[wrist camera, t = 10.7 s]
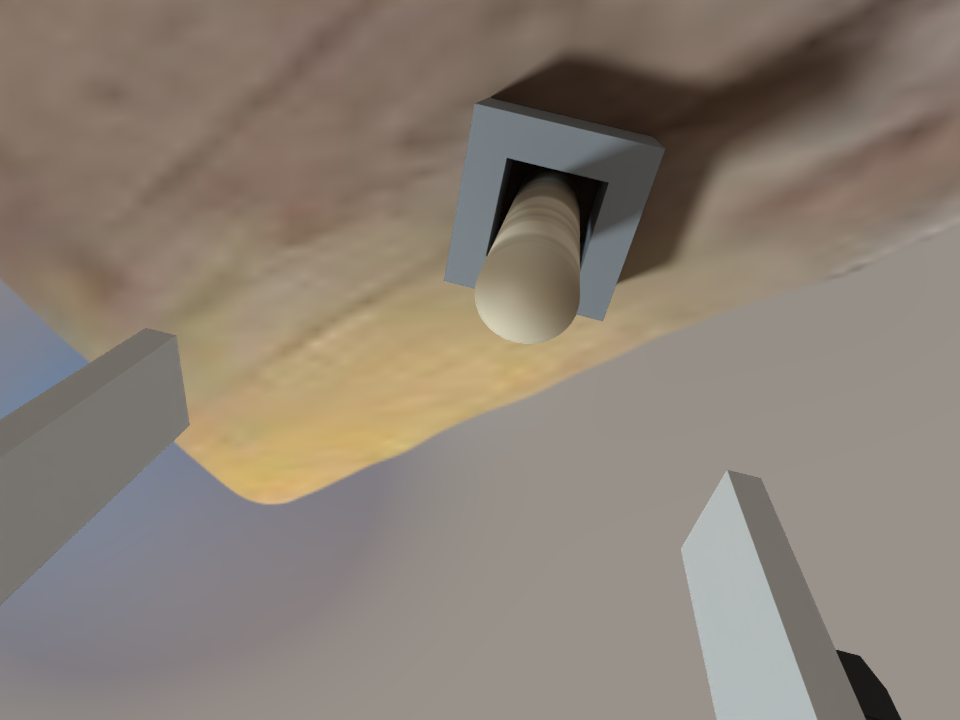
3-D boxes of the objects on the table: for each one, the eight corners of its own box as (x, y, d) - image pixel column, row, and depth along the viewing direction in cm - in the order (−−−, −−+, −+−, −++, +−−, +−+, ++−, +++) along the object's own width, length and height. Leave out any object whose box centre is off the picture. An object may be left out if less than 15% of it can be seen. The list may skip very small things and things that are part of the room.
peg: (525, 161, 32) (486, 234, 19) (587, 176, 32) (594, 261, 19) (510, 223, 35) (466, 329, 21) (569, 237, 34) (563, 354, 21)
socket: (489, 97, 31) (474, 103, 27) (653, 136, 31) (665, 149, 26) (459, 254, 36) (444, 280, 32) (600, 290, 36) (602, 321, 32)
